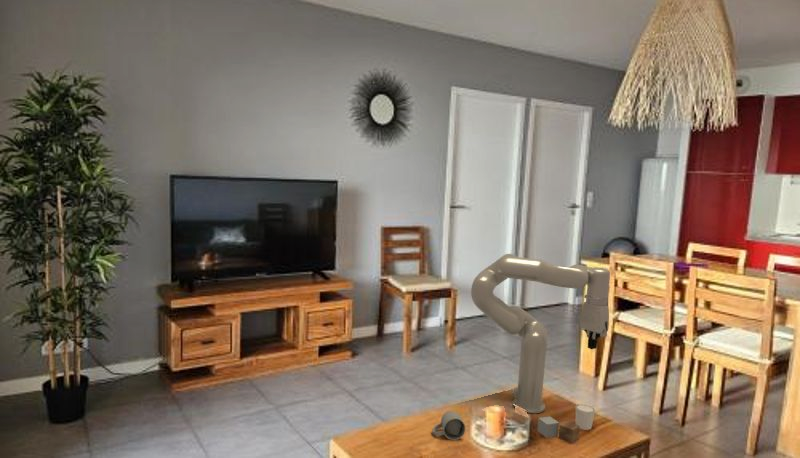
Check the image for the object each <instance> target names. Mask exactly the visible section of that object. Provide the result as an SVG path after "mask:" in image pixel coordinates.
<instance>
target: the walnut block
mask: <svg viewBox="0 0 800 458" xmlns="http://www.w3.org/2000/svg"><path fill="white" fill-rule="evenodd" d="M579 436H580V425H577V424H575V423H574V422H571V421H569V420H565V421H564V422H562V423H559V428H558V439H560V440H562V441H563V442H567V443H570V444H572V445H573V444H574V443H575V442H576V441H578V440H579V438H580V437H579Z"/></svg>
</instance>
